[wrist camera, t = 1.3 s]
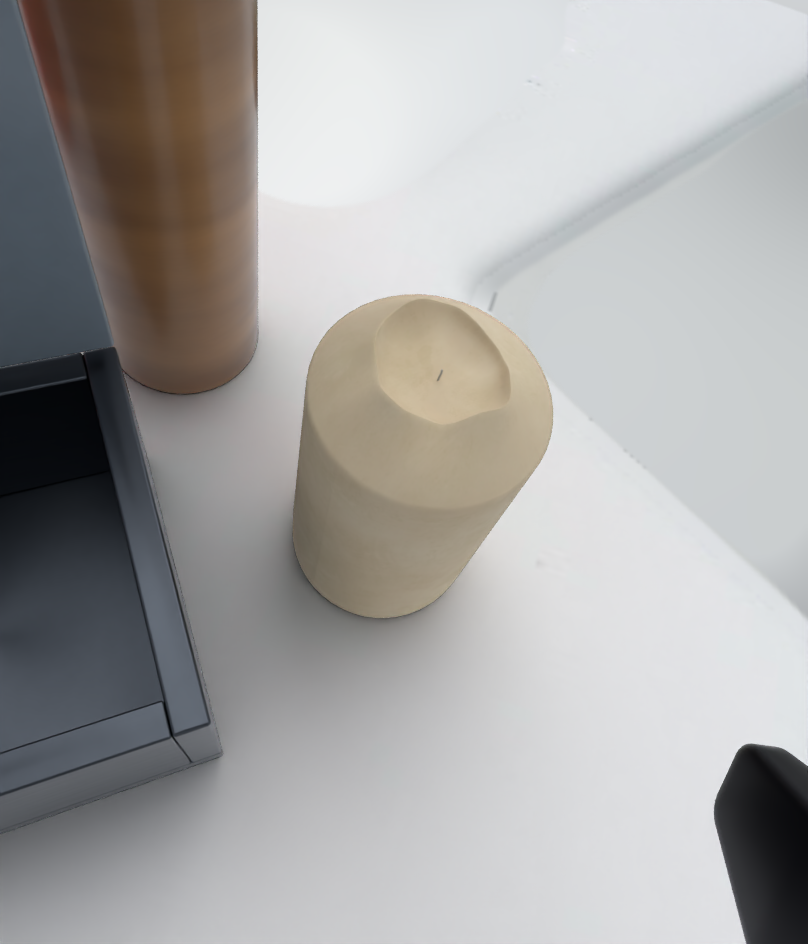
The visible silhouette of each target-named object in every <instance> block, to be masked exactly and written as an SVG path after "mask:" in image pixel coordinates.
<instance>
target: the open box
mask: <svg viewBox="0 0 808 944" xmlns="http://www.w3.org/2000/svg"><path fill="white" fill-rule="evenodd" d="M222 755H223V751H222V748H221V744H220V740H219V736H218V732H217V728H216V724H215V720H214V716H213V712H212V709H211V705H210V701H209V697H208V693H207V689H206V685H205V681H204V677H203V673H202V670H201V666H200V662H199V658H198V654H197V650H196V646H195V642H194V638H193V634H192V631H191V627H190V623H189V619H188V615H187V611H186V607H185V603H184V599H183V595H182V591H181V588H180V584H179V580H178V576H177V572H176V568H175V564H174V560H173V556H172V552H171V549H170V545H169V541H168V537H167V533H166V529H165V525H164V521H163V517H162V513H161V510H160V506H159V502H158V498H157V494H156V490H155V486H154V482H153V478H152V474H151V470H150V467H149V463H148V459H147V455H146V451H145V448H144V444H143V441H142V437H141V434H140V430H139V427H138V423H137V420H136V416H135V413H134V409H133V406H132V402H131V399H130V395H129V392H128V388H127V385H126V381H125V378H124V374H123V371H122V367H121V364H120V360H119V357H118V353H117V350H116V348H115V347H109V348H103V349H98V350H93V351H87V352H84V353H83V355H82V354H81V353H76V354H71V355H66V356H60V357H55V358H50V359H44V360H39V361H34V362H28V363H23V364H18V365H12V366H7V367H2V368H0V834H2V833H5V832H8V831H11V830H13V829H16V828H19V827H22V826H25V825H28V824H30V823H33V822H36V821H39V820H42V819H45V818H47V817H50V816H53V815H56V814H59V813H62V812H64V811H67V810H70V809H73V808H76V807H79V806H81V805H84V804H87V803H90V802H93V801H96V800H99V799H101V798H104V797H107V796H110V795H113V794H116V793H118V792H121V791H124V790H127V789H130V788H133V787H135V786H138V785H141V784H144V783H147V782H150V781H152V780H155V779H158V778H161V777H164V776H167V775H169V774H172V773H175V772H178V771H181V770H184V769H186V768H189V767H192V766H195V765H198V764H201V763H204V762H206V761H209V760H212V759H215V758H218V757H221V756H222Z"/></svg>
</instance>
